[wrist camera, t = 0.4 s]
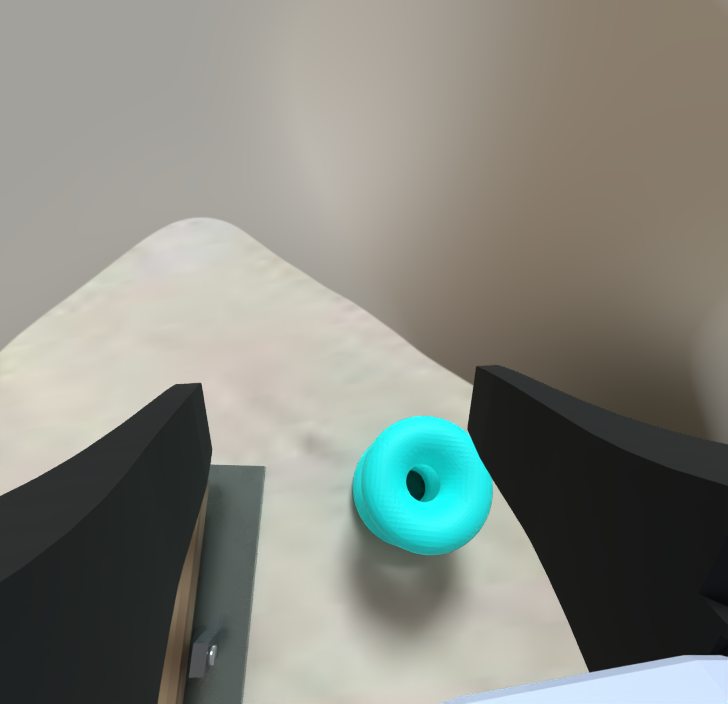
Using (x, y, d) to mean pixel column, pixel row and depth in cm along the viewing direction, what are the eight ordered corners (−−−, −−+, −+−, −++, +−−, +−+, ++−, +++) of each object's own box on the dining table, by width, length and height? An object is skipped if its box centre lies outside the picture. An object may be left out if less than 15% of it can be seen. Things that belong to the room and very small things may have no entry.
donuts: (498, 420, 33) (500, 564, 29) (457, 441, 42) (455, 551, 38) (370, 404, 32) (356, 549, 28) (357, 428, 41) (345, 540, 38)
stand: (226, 868, 29) (209, 934, 25) (9, 881, 28) (-51, 953, 23) (265, 467, 39) (259, 461, 34) (105, 462, 38) (76, 455, 33)
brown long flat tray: (163, 862, 28) (151, 893, 26) (59, 868, 27) (39, 900, 25) (209, 479, 34) (203, 480, 32) (126, 477, 33) (114, 477, 31)
